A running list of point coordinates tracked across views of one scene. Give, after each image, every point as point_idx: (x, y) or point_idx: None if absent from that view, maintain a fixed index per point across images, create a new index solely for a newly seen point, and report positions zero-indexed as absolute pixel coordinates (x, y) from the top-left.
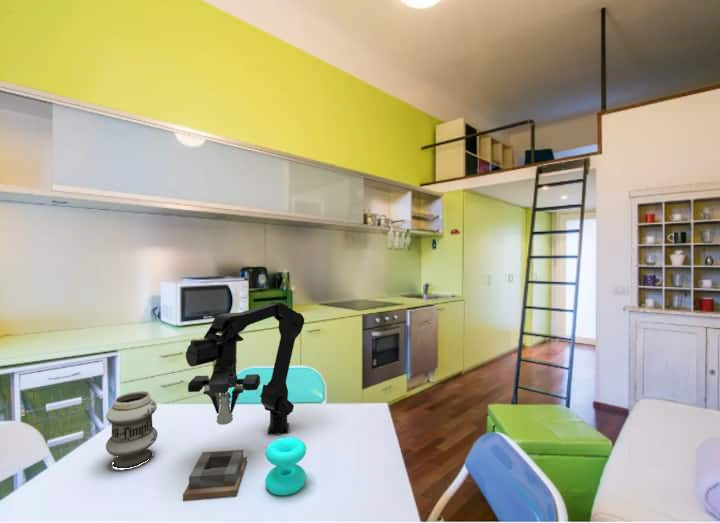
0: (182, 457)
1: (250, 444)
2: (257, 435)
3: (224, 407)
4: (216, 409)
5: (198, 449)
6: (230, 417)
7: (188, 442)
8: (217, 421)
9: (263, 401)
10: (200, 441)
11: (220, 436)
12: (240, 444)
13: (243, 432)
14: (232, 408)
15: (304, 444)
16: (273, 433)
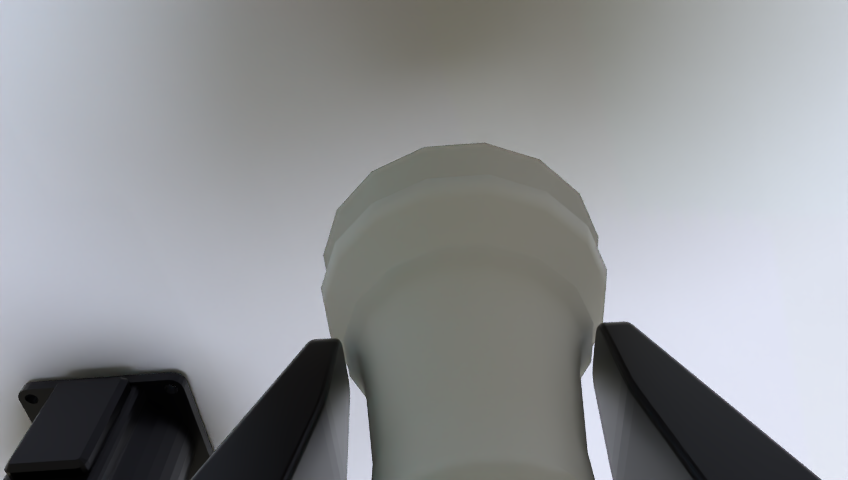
0: (833, 64)
1: (270, 246)
2: (265, 364)
3: (462, 398)
4: (662, 370)
5: (708, 186)
6: (335, 260)
7: (811, 286)
8: (570, 203)
9: None
10: (713, 297)
11: None
12: None
13: None
14: (276, 400)
15: None
16: (133, 378)
